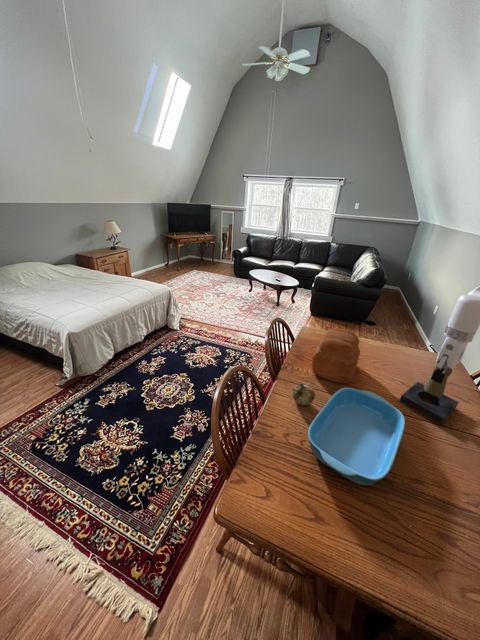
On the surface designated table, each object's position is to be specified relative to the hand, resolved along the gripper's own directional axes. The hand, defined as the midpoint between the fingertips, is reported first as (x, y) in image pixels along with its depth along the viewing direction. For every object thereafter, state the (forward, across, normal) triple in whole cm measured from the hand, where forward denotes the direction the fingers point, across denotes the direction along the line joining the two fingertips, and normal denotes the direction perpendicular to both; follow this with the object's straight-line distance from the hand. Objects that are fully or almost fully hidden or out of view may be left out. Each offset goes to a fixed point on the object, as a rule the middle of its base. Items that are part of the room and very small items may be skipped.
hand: (439, 377), depth 95 cm
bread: (+13, -10, +34) cm, 38 cm away
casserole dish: (+13, -38, +7) cm, 41 cm away
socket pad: (+13, 0, 0) cm, 13 cm away
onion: (+13, -38, +28) cm, 49 cm away
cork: (+6, 0, 0) cm, 6 cm away
